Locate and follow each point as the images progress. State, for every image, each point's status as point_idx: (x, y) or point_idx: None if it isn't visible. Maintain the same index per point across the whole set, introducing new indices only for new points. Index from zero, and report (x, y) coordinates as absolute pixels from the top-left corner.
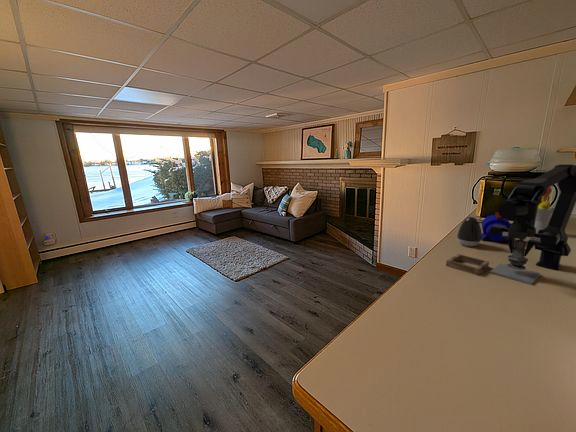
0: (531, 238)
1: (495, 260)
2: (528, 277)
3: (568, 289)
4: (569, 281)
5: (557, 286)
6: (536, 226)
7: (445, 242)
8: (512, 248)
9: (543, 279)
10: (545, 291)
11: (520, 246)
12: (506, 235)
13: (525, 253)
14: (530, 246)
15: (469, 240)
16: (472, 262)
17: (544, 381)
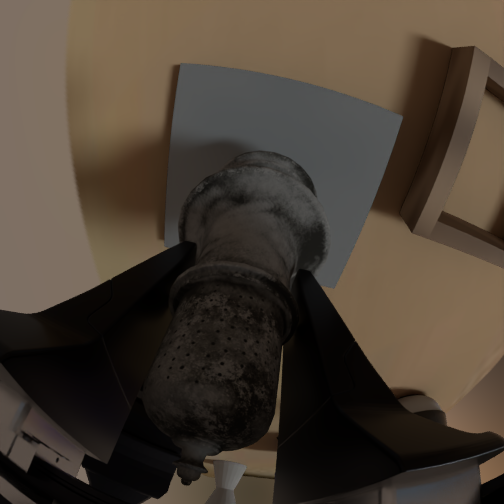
0: (11, 431)
1: (347, 323)
2: (199, 139)
3: (75, 137)
4: (89, 231)
5: (101, 140)
6: (230, 478)
7: (468, 387)
8: (305, 307)
9: (150, 190)
10: (133, 33)
11: (205, 321)
12: (438, 497)
13: (174, 255)
14: (75, 306)
15: (420, 414)
16: (469, 225)
17: None
